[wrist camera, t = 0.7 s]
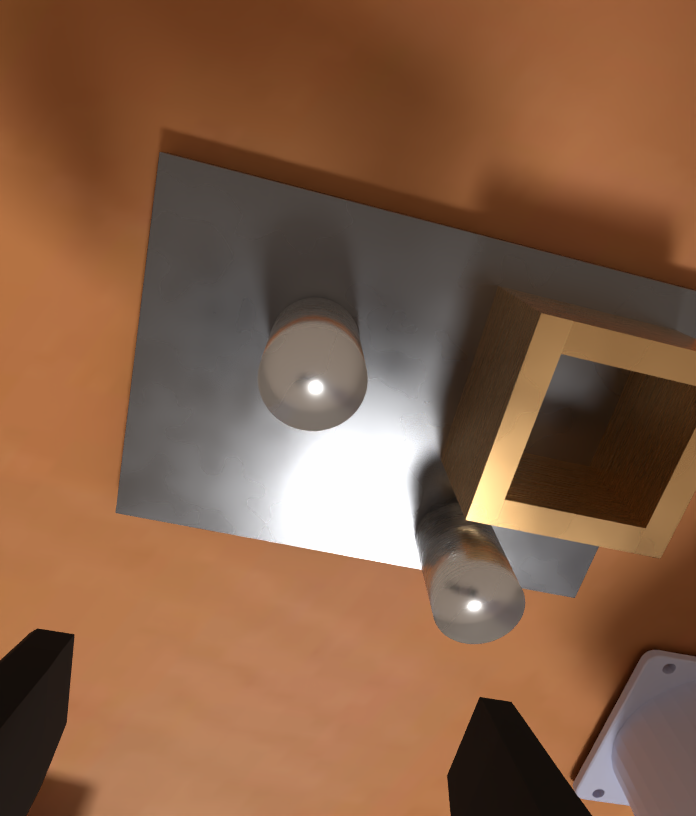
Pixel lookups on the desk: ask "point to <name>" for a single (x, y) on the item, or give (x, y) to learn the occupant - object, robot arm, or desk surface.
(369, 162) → the desk surface
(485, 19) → the desk surface
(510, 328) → the collar
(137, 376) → the steel plate
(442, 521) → the post
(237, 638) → the desk surface
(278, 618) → the desk surface
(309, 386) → the post
